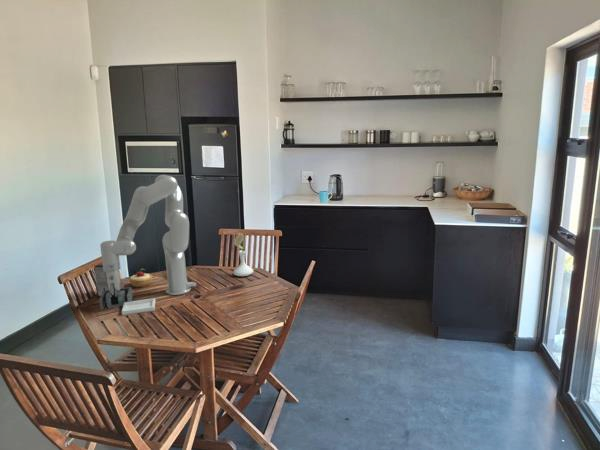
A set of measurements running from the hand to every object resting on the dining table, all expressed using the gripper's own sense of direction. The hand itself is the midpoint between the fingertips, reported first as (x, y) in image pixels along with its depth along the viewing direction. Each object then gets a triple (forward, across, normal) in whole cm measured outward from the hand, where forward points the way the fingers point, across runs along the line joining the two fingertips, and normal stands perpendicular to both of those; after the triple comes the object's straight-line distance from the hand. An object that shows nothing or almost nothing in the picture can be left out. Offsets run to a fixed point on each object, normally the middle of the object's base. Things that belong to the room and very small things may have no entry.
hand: (116, 300), depth 216 cm
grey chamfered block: (+2, 0, 0) cm, 2 cm away
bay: (+2, +2, 0) cm, 3 cm away
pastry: (+2, +27, -10) cm, 29 cm away
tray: (+2, -10, -11) cm, 15 cm away
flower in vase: (+2, +21, -65) cm, 68 cm away
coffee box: (+2, +20, +6) cm, 21 cm away
